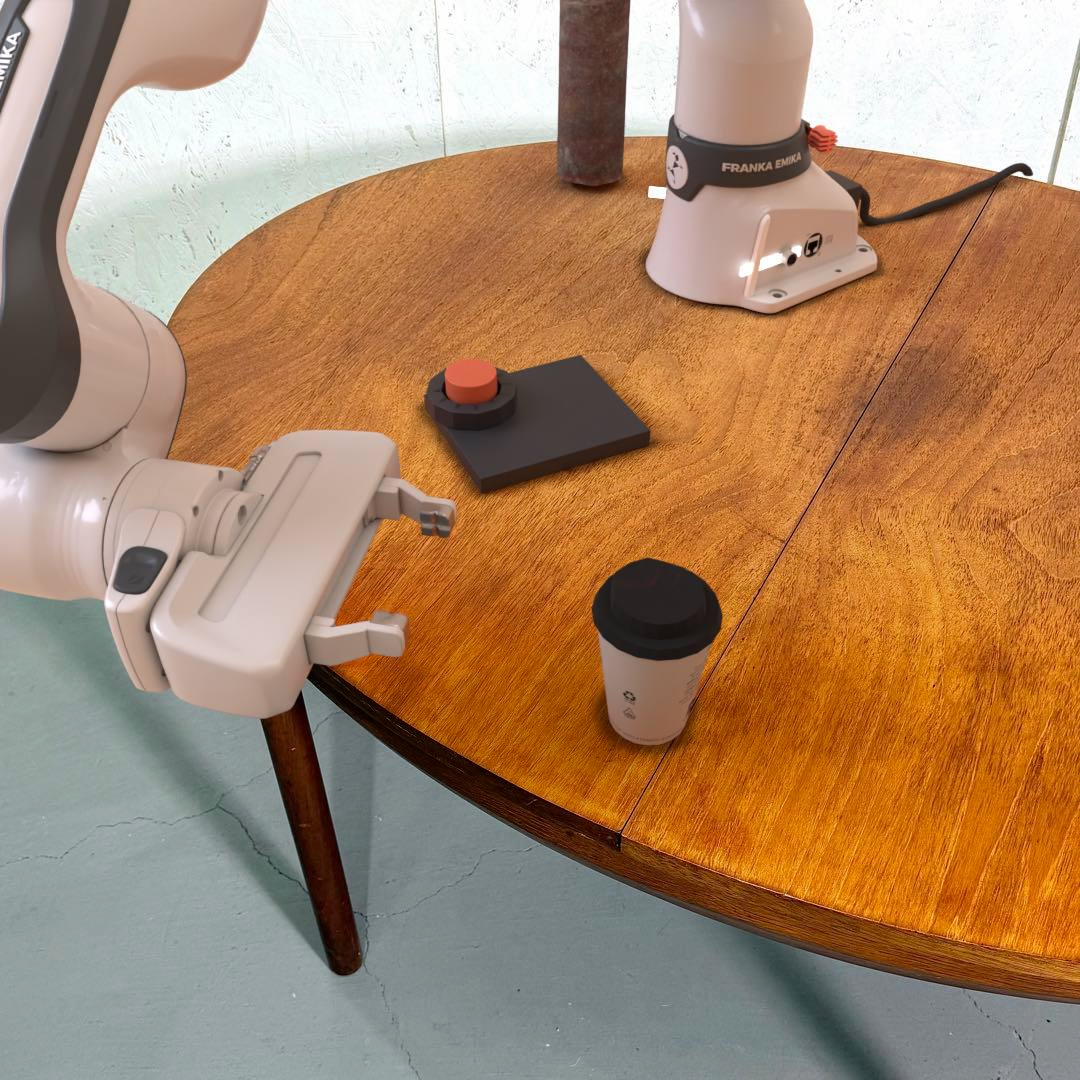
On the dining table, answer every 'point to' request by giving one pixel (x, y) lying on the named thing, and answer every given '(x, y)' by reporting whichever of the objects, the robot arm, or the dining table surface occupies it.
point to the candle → (592, 90)
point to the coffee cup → (653, 646)
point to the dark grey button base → (536, 423)
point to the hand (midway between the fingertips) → (431, 574)
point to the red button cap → (471, 381)
